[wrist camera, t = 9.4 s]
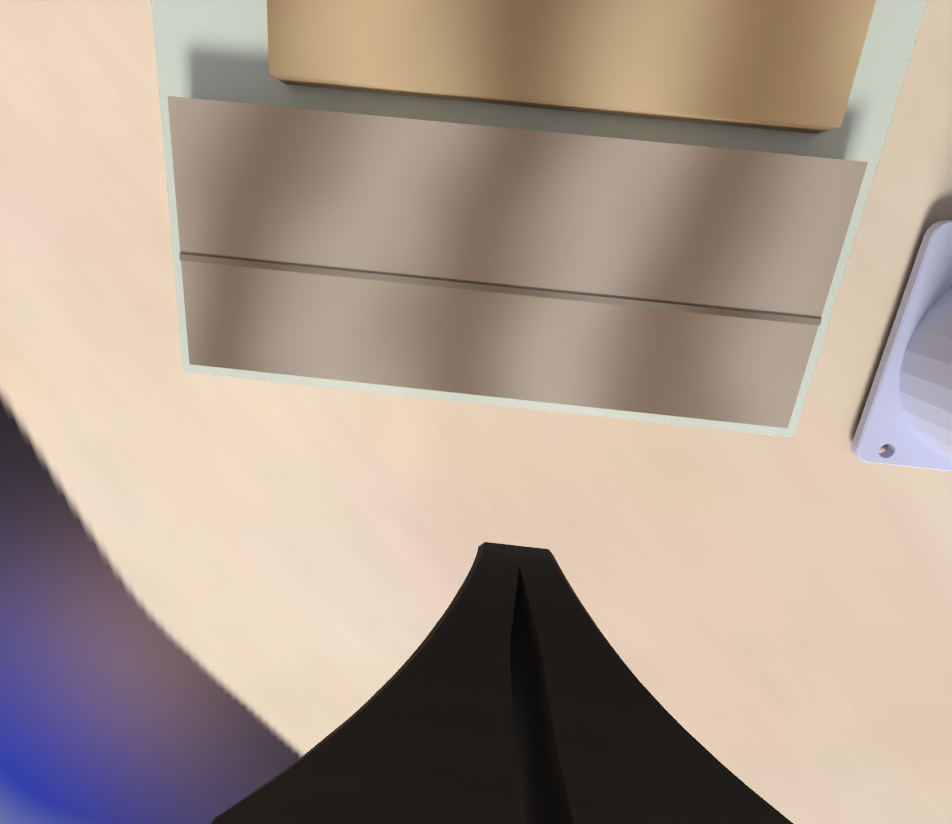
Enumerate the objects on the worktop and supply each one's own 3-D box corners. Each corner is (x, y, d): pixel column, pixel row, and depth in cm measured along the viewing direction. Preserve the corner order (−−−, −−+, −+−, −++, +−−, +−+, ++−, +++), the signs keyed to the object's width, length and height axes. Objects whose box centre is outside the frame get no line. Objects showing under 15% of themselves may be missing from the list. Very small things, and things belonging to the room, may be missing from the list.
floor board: (843, 166, 16) (869, 161, 15) (771, 416, 19) (788, 428, 18) (190, 104, 17) (166, 95, 16) (208, 356, 19) (188, 364, 18)
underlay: (1021, -320, 13) (1028, -328, 13) (790, 435, 19) (793, 437, 19) (122, -384, 14) (116, -393, 13) (186, 370, 20) (183, 371, 20)
